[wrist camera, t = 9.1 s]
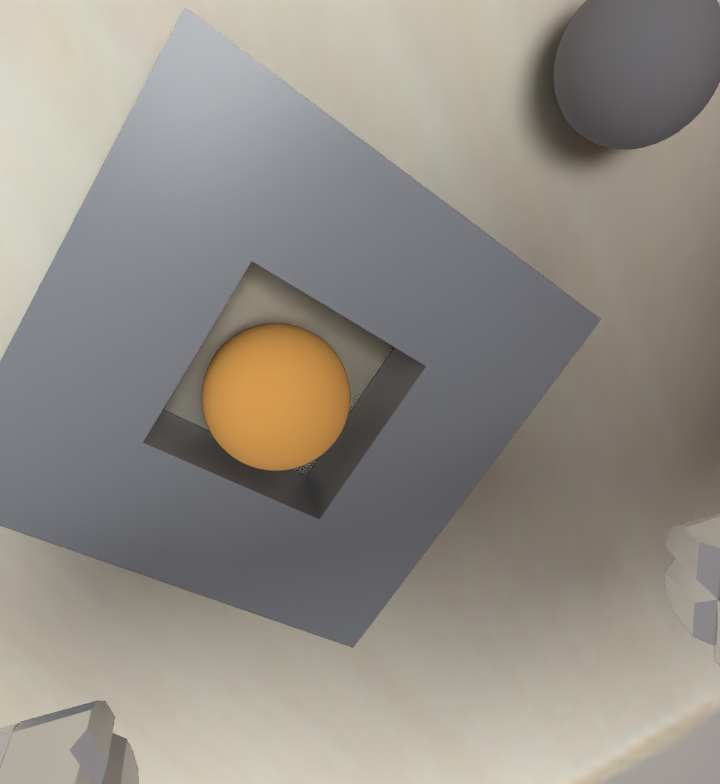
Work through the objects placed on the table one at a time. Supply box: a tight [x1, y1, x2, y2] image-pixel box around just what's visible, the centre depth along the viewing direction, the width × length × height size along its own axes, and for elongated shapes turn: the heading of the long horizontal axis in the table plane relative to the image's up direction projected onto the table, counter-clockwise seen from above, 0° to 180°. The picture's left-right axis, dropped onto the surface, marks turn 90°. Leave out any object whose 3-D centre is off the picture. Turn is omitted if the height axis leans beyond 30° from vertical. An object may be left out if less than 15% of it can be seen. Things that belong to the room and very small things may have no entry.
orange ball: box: [202, 324, 350, 471], centre depth 17 cm, size 4×4×4 cm
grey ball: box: [554, 0, 720, 149], centre depth 16 cm, size 4×4×4 cm
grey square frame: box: [0, 7, 601, 647], centre depth 18 cm, size 13×13×2 cm
